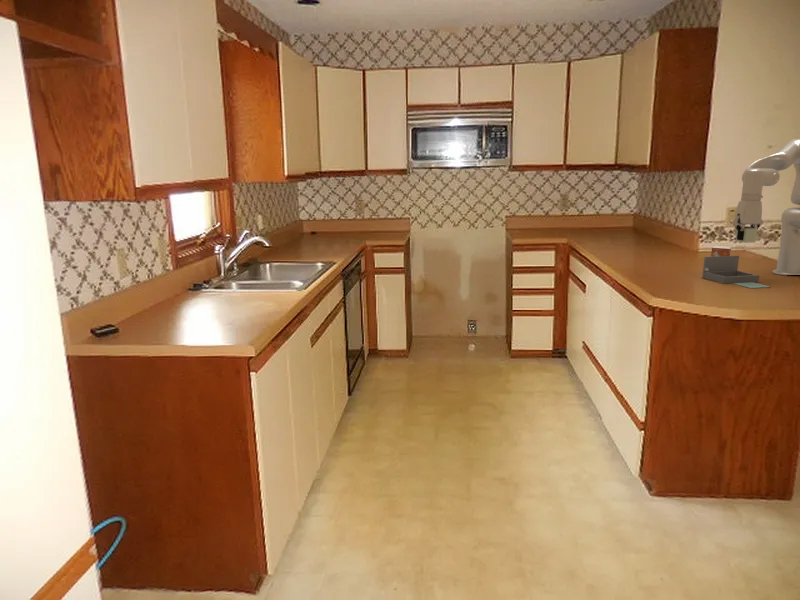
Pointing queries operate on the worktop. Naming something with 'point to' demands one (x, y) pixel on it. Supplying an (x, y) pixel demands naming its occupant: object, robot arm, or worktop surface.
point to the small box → (720, 251)
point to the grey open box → (726, 270)
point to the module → (748, 235)
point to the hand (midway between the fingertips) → (745, 239)
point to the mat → (751, 285)
